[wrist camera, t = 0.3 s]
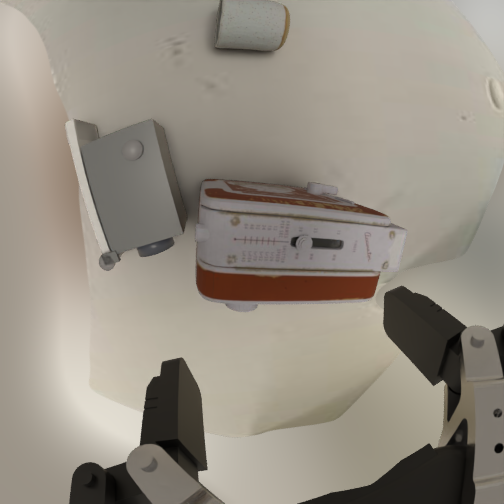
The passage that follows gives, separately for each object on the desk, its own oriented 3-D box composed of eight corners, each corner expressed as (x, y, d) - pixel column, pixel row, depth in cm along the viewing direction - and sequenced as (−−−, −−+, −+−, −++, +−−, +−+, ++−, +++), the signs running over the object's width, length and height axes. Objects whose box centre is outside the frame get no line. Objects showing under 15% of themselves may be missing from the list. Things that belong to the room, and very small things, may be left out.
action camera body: (93, 153, 30) (62, 153, 22) (163, 127, 31) (150, 117, 22) (122, 250, 34) (101, 276, 26) (190, 229, 35) (187, 250, 27)
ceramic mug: (276, 59, 30) (294, 37, 23) (213, 56, 28) (217, 31, 21) (274, 2, 27) (290, -25, 19) (216, -2, 25) (221, -32, 18)
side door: (87, 129, 28) (62, 123, 22) (98, 124, 28) (75, 117, 22) (120, 248, 34) (104, 269, 27) (132, 245, 34) (117, 264, 28)
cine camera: (332, 247, 40) (421, 315, 21) (196, 239, 36) (192, 325, 17) (343, 185, 37) (449, 214, 18) (201, 168, 33) (199, 177, 14)
